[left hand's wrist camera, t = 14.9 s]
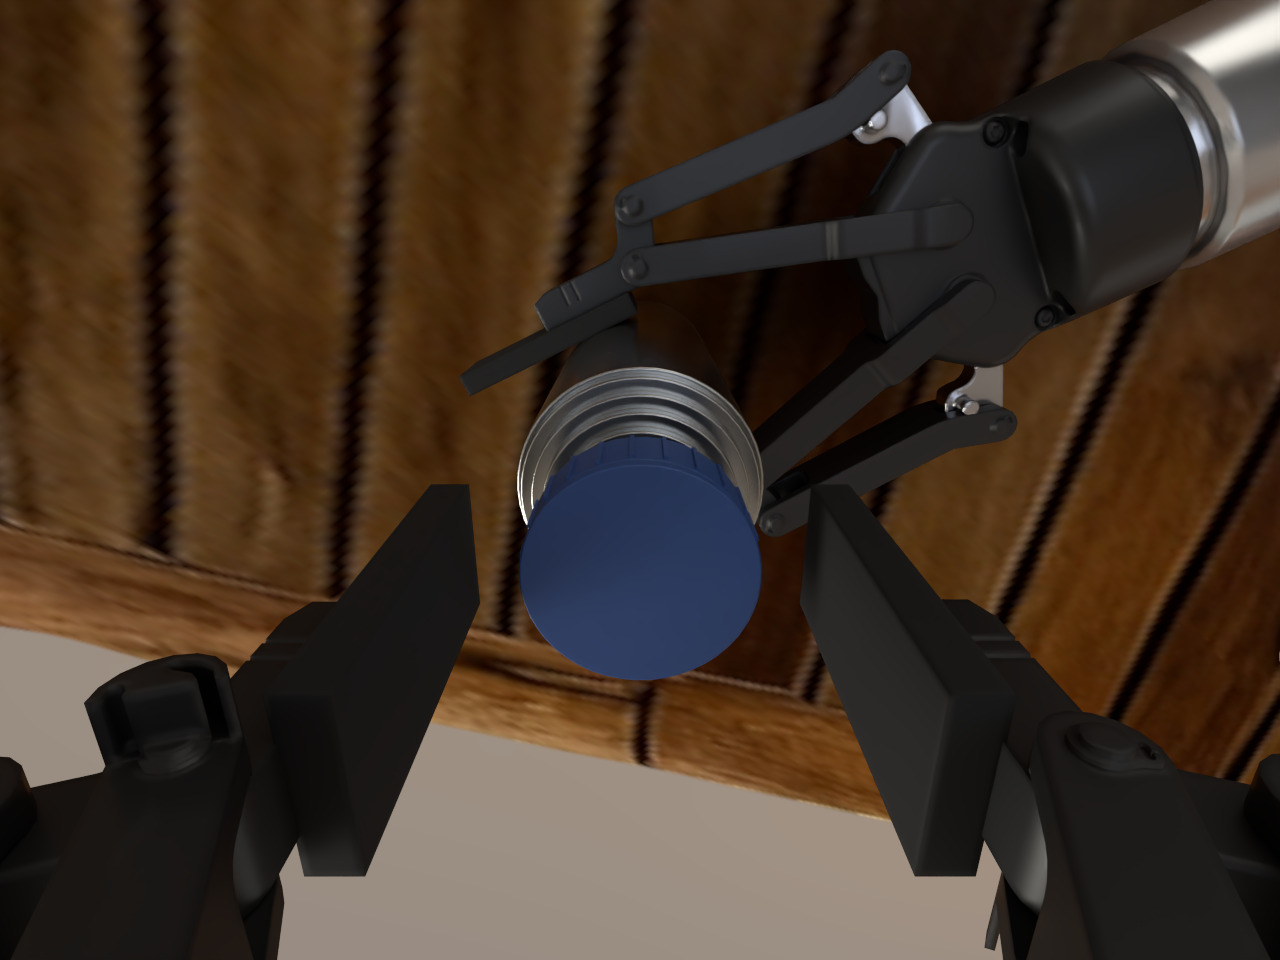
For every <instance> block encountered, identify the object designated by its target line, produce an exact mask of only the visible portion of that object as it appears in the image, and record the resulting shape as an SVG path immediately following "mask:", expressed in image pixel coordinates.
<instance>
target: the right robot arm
mask: <svg viewBox="0 0 1280 960" xmlns="http://www.w3.org/2000/svg"><path fill="white" fill-rule="evenodd" d="M910 76H911V64H910V61H909V59H908V57H907V56H906V55H905V54H904V53H903V52H900V51H897V50H891V51H887V52H885V53H883V54H882V55H880V56H879V57H877V58H876V59H874V60H873V61H872V62H870V63H869V64H867V65H866V66H864V67H863V68H862V69H860V70H859V71H857V72H856V73H855V74H854V75H853V76H852V77H851V78H849V79H848V80H847V81H846V82H845V83H844V84H843V85H842V86H841V87H840V88H839V89H838V90H836V91H835V92H834V93H833V94H832V95H831V96H830V97H829V98H828V99H827V100H826V101H824V102H823V103H820V104H818V105H816V106H813V107H811V108H809V109H806V110H804V111H802V112H799V113H797V114H795V115H792V116H790V117H788V118H785V119H783V120H781V121H778V122H776V123H774V124H771V125H769V126H767V127H764V128H762V129H760V130H757V131H755V132H753V133H750V134H748V135H746V136H743V137H741V138H739V139H736V140H734V141H732V142H729V143H727V144H725V145H722V146H720V147H718V148H715V149H713V150H711V151H708V152H706V153H704V154H701V155H699V156H697V157H694V158H692V159H690V160H687V161H685V162H683V163H680V164H678V165H676V166H673V167H671V168H669V169H666V170H664V171H662V172H659V173H657V174H655V175H652V176H650V177H648V178H645V179H643V180H641V181H638V182H636V183H634V184H631V185H629V186H627V187H625V188H623V189H622V190H620V191H619V193H618V194H617V196H616V197H615V202H614V210H615V219H616V228H617V237H618V244H617V248H616V251H615V253H614V255H613V256H612V257H611V258H610V259H609V260H607V261H606V262H604V263H602V264H600V265H598V266H596V267H594V268H592V269H590V270H588V271H586V272H584V273H582V274H580V275H578V276H576V277H574V278H572V279H570V280H568V281H566V282H564V283H563V284H561V285H559V286H557V287H555V288H553V289H551V290H549V291H547V292H546V293H545V294H544V295H543V296H542V297H541V298H540V299H539V300H538V302H537V303H536V304H535V305H534V308H535V310H536V312H537V313H538V315H539V317H540V319H541V321H542V323H543V325H544V327H545V328H544V329H542V330H540V331H538V332H536V333H534V334H532V335H530V336H528V337H526V338H524V339H522V340H520V341H518V342H516V343H514V344H512V345H510V346H508V347H506V348H504V349H502V350H500V351H498V352H496V353H494V354H492V355H490V356H488V357H486V358H484V359H482V360H480V361H478V362H476V363H475V364H474V365H473V366H471V367H470V368H469V369H468V370H467V371H466V372H464V373H463V374H462V375H461V376H460V377H459V378H460V380H461V382H462V383H463V385H464V387H465V388H466V390H467V392H468V394H469V395H470V396H472V395H474V394H476V393H478V392H480V391H482V390H484V389H486V388H488V387H490V386H492V385H494V384H496V383H498V382H500V381H502V380H504V379H506V378H508V377H510V376H512V375H514V374H516V373H518V372H520V371H522V370H524V369H526V368H528V367H530V366H532V365H534V364H536V363H538V362H541V361H543V360H545V359H547V358H549V357H551V356H553V355H555V354H557V353H559V352H561V351H563V350H565V349H567V348H569V347H571V346H573V345H575V344H577V343H579V342H581V341H583V340H585V339H587V338H589V337H591V336H593V335H595V334H597V333H599V332H601V331H603V330H605V329H607V328H610V327H612V326H614V325H616V324H618V323H620V322H622V321H624V320H626V319H628V318H630V317H632V316H634V315H636V314H637V308H638V305H637V303H636V300H635V298H634V296H633V294H632V292H631V291H632V290H634V289H636V288H638V287H641V286H648V285H656V284H663V283H670V282H677V281H684V280H691V279H698V278H705V277H712V276H720V275H727V274H734V273H741V272H748V271H755V270H762V269H769V268H776V267H784V266H791V265H798V264H805V263H812V262H819V261H827V260H843V263H844V266H845V269H846V271H847V274H848V275H849V277H850V278H851V279H852V281H853V282H854V284H855V285H856V286H857V288H858V289H859V291H860V296H861V309H862V316H863V318H864V321H865V324H866V328H865V329H864V330H863V331H862V332H861V333H859V334H858V335H857V336H856V337H855V338H854V339H853V340H852V341H851V342H850V343H849V344H848V346H847V348H846V350H845V352H844V353H843V354H842V355H841V356H839V357H838V358H837V359H836V360H835V361H834V362H833V363H831V364H830V365H829V366H828V367H827V368H826V369H825V370H823V371H822V372H821V373H820V374H819V375H818V376H817V377H815V378H814V379H813V380H812V381H811V382H810V383H809V384H807V385H806V386H805V387H804V388H803V389H802V390H801V391H799V392H798V393H797V394H796V395H795V396H794V397H793V398H791V399H790V400H789V401H788V402H787V403H786V404H785V405H783V406H782V407H781V408H780V409H779V410H778V411H777V412H775V413H774V414H773V415H772V416H771V417H770V418H769V419H767V420H766V421H765V422H764V423H763V424H762V425H760V426H759V427H758V428H757V429H756V430H755V431H754V432H752V434H753V436H754V438H755V440H756V442H757V445H758V448H759V452H760V455H761V459H762V466H763V473H764V490H763V497H762V504H761V507H760V511H759V515H758V518H757V520H756V523H757V524H758V525H760V528H761V530H762V531H763V532H764V533H765V534H766V535H768V536H770V537H778V536H781V535H784V534H786V533H788V532H790V531H792V530H794V529H796V528H798V527H800V526H802V525H804V524H806V523H808V513H809V502H810V491H811V484H849V485H850V486H851V488H852V489H853V490H854V491H855V493H856V494H857V495H858V496H861V495H863V494H865V493H867V492H869V491H871V490H873V489H875V488H877V487H879V486H881V485H883V484H885V483H887V482H889V481H891V480H893V479H895V478H897V477H899V476H901V475H903V474H905V473H907V472H909V471H911V470H913V469H915V468H917V467H919V466H921V465H922V464H924V463H926V462H928V461H930V460H932V459H934V458H936V457H938V456H940V455H942V454H944V453H946V452H948V451H950V450H952V449H956V448H962V447H968V446H974V445H980V444H986V443H992V442H999V441H1002V440H1005V439H1007V438H1009V437H1010V436H1011V435H1012V434H1013V433H1014V431H1015V430H1016V426H1017V419H1016V416H1015V415H1014V413H1013V412H1011V411H1009V410H1007V409H1005V408H1003V364H1004V363H1006V362H1008V361H1009V360H1011V359H1012V358H1013V357H1014V356H1015V355H1016V354H1017V353H1018V352H1019V351H1020V350H1021V349H1022V347H1023V346H1024V345H1025V344H1026V343H1027V342H1029V341H1030V340H1031V339H1032V338H1033V337H1035V336H1036V335H1038V334H1039V333H1041V332H1043V331H1046V330H1048V329H1051V328H1054V327H1056V326H1059V325H1062V324H1065V323H1067V322H1070V321H1072V320H1074V319H1077V318H1079V317H1081V316H1083V315H1086V314H1088V313H1090V312H1092V311H1095V310H1097V309H1099V308H1102V307H1104V306H1106V305H1108V304H1111V303H1113V302H1115V301H1117V300H1120V299H1122V298H1124V297H1126V296H1129V295H1131V294H1133V293H1135V292H1138V291H1140V290H1142V289H1144V288H1147V287H1149V286H1151V285H1153V284H1156V283H1158V282H1160V281H1162V280H1164V279H1166V278H1167V277H1169V276H1170V275H1171V274H1173V273H1174V272H1175V271H1176V270H1177V269H1185V268H1189V267H1194V266H1198V265H1200V264H1202V263H1204V262H1206V261H1209V260H1211V259H1213V258H1215V257H1217V256H1220V255H1222V254H1224V253H1226V252H1228V251H1230V250H1233V249H1235V248H1237V247H1239V246H1241V245H1244V244H1246V243H1248V242H1250V241H1252V240H1254V239H1257V238H1259V237H1261V236H1263V235H1265V234H1268V233H1270V232H1272V231H1274V230H1276V229H1278V228H1280V0H1211V1H1209V2H1207V3H1205V4H1203V5H1201V6H1199V7H1197V8H1195V9H1193V10H1191V11H1189V12H1186V13H1184V14H1182V15H1180V16H1178V17H1176V18H1174V19H1172V20H1170V21H1168V22H1166V23H1164V24H1162V25H1160V26H1158V27H1156V28H1154V29H1152V30H1150V31H1148V32H1146V33H1144V34H1142V35H1140V36H1138V37H1136V38H1134V39H1132V40H1130V41H1128V42H1126V43H1124V44H1122V45H1120V46H1119V47H1117V48H1115V49H1113V50H1112V51H1110V52H1108V54H1107V55H1106V56H1105V57H1104V58H1103V59H1102V60H1096V61H1091V62H1087V63H1084V64H1082V65H1080V66H1078V67H1076V68H1074V69H1072V70H1070V71H1068V72H1066V73H1064V74H1061V75H1059V76H1057V77H1055V78H1053V79H1051V80H1049V81H1047V82H1045V83H1043V84H1041V85H1039V86H1037V87H1035V88H1033V89H1031V90H1029V91H1027V92H1025V93H1023V94H1021V95H1019V96H1017V97H1015V98H1013V99H1011V100H1009V101H1007V102H1005V103H1003V104H1001V105H999V106H997V107H995V108H993V109H991V110H989V111H987V112H985V113H983V114H981V115H979V116H977V117H975V118H973V119H971V120H969V121H964V122H952V121H939V122H934V123H932V122H931V121H930V119H929V118H928V116H927V115H926V113H925V112H924V110H923V109H922V107H921V105H920V104H919V102H918V101H917V99H916V98H915V96H914V95H913V93H912V92H911V90H910V89H909V87H908V86H907V84H908V81H909V79H910ZM844 137H846V138H847V140H848V141H849V142H850V143H851V144H852V145H854V146H858V147H864V146H868V145H871V144H874V143H876V142H878V141H880V140H886V141H889V142H891V143H892V144H893V145H894V146H895V147H896V149H895V151H894V152H893V154H892V156H891V157H890V159H889V161H888V162H887V164H886V166H885V167H884V169H883V171H882V172H881V174H880V176H879V177H878V179H877V181H876V182H875V184H874V186H873V187H872V189H871V190H870V192H869V194H868V195H867V197H866V199H865V200H864V202H863V204H862V205H861V207H860V209H859V210H858V212H857V214H856V215H850V216H843V217H836V218H829V219H822V220H815V221H810V222H804V223H797V224H790V225H783V226H776V227H769V228H762V229H755V230H748V231H741V232H734V233H727V234H721V235H714V236H707V237H700V238H693V239H686V240H679V241H672V242H665V243H658V244H654V233H653V222H652V219H654V218H656V217H658V216H661V215H663V214H666V213H668V212H670V211H673V210H675V209H678V208H680V207H682V206H685V205H687V204H689V203H692V202H694V201H697V200H699V199H701V198H704V197H706V196H709V195H711V194H713V193H716V192H718V191H720V190H723V189H725V188H728V187H730V186H732V185H735V184H737V183H740V182H742V181H744V180H747V179H749V178H751V177H754V176H756V175H759V174H761V173H763V172H766V171H768V170H771V169H773V168H775V167H778V166H780V165H782V164H785V163H787V162H790V161H792V160H794V159H797V158H799V157H802V156H804V155H806V154H809V153H811V152H813V151H816V150H818V149H821V148H823V147H825V146H828V145H830V144H832V143H834V142H836V141H838V140H840V139H842V138H844ZM928 359H935V360H941V361H946V362H952V363H957V364H963V365H964V369H963V371H962V373H961V375H960V376H959V377H958V378H957V379H956V380H954V381H952V382H950V383H948V384H946V385H944V386H942V387H941V388H939V389H938V391H937V394H936V395H937V396H936V400H932V401H927V402H924V403H921V404H919V405H916V406H913V407H911V408H909V409H907V410H905V411H903V412H901V413H899V414H897V415H895V416H893V417H891V418H889V419H887V420H885V421H883V422H882V423H880V424H878V425H876V426H874V427H872V428H870V429H868V430H866V431H864V432H862V433H860V434H859V435H857V436H855V437H853V438H851V439H849V440H847V441H845V442H843V443H841V444H839V445H838V446H836V447H834V448H832V449H830V450H828V451H826V452H824V453H822V454H820V455H818V456H816V457H815V458H813V459H811V460H809V461H807V462H805V463H803V464H801V465H799V466H797V467H795V468H793V469H792V470H790V471H788V470H789V469H790V468H791V467H793V466H794V465H795V464H796V463H797V462H798V461H800V460H801V459H802V458H803V457H804V456H806V455H807V454H808V453H809V452H810V451H811V450H813V449H814V448H815V447H816V446H817V445H819V444H820V443H821V442H822V441H823V440H825V439H826V438H827V437H828V436H829V435H830V434H832V433H833V432H834V431H835V430H836V429H838V428H839V427H840V426H841V425H842V424H844V423H845V422H846V421H847V420H848V419H849V418H851V417H852V416H853V415H854V414H855V413H857V412H858V411H859V410H860V409H861V408H863V407H864V406H865V405H866V404H867V403H868V402H870V401H871V400H872V399H873V398H874V397H876V396H877V395H878V394H879V393H880V392H882V391H883V390H884V389H886V388H888V387H892V386H895V385H897V384H899V383H900V382H902V381H903V380H905V379H906V378H907V377H908V376H909V375H910V374H912V373H913V372H914V371H915V370H916V369H918V368H919V367H920V366H921V365H922V364H924V363H925V362H926V361H927V360H928ZM787 471H788V472H787ZM785 472H786V473H785Z"/></svg>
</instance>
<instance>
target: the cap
mask: <svg viewBox="0 0 1280 960" xmlns="http://www.w3.org/2000/svg"><path fill="white" fill-rule="evenodd" d="M526 527H527V528H529V529H528V531H527V534H526V537H525V540H524V542H523V545H522V548H521V551H520V555H519V556H520V567H519V577H520V588H521V592H522V596H523V600H524V603H525V606H526V608H527V611H528V613H529V615H530V617H531V619H532V621H533V622H534V624H535V626H536V627H537V629H538V630H539V631H540V633H541V634H542V635H543V637H544V638H545V639H546V640H547V641H548V642H549V643H550V644H551V645H552V646H553V647H554V648H555V649H556V650H557V651H559V652H560V653H561V654H562V655H564V656H565V657H566V658H568V659H570V660H571V661H573V662H575V663H576V664H578V665H580V666H582V667H584V668H586V669H589V670H591V671H593V672H596V673H599V674H602V675H606V676H610V677H615V678H620V679H630V680H652V679H660V678H667V677H671V676H675V675H679V674H682V673H685V672H688V671H690V670H693V669H695V668H697V667H699V666H701V665H703V664H705V663H707V662H708V661H710V660H712V659H713V658H715V657H716V656H718V655H719V654H720V653H721V652H723V651H724V650H725V649H726V648H727V647H728V646H730V645H731V643H732V642H733V641H734V640H735V639H736V638H737V637H738V636H739V635H740V633H741V632H742V630H743V629H744V627H745V626H746V625H747V623H748V621H749V619H750V617H751V615H752V613H753V612H754V609H755V606H756V604H757V601H758V598H759V593H760V588H761V582H762V563H761V554H760V550H759V546H758V542H757V541H759V537H758V534H757V531H756V529H755V526H754V523H753V521H752V518H751V516H750V513H749V512H748V510H747V507H746V505H745V502H744V499H743V497H742V494H741V491H740V489H739V487H738V486H737V487H735V486H734V485H733V483H732V482H731V480H730V479H729V478H728V477H727V475H726V474H725V473H724V472H723V470H722V467H721V465H720V464H719V463H718V464H717V465H716V464H715V463H714V462H712V461H711V460H710V459H708V458H707V457H705V456H704V455H703V454H701V453H699V452H697V450H696V448H695V447H693V446H692V448H690V447H687V446H685V445H682V444H680V443H677V442H674V441H669V440H666V437H662V439H661V438H652V437H634V435H630V437H628V438H621V439H615V440H612V441H608V442H604V443H603V441H600V442H599V444H598V445H596V446H594V447H592V448H589V449H587V450H586V451H584V452H582V453H580V454H579V455H577V456H575V455H573V456H571V459H570V461H569V462H568V463H566V464H565V465H564V466H563V467H562V468H561V469H560V470H559V471H558V472H557V473H556V474H555V475H554V476H553V475H551V476H550V477H549V480H548V483H547V486H546V488H545V490H544V492H543V494H542V495H541V497H540V500H537V499H536V501H535V504H534V507H533V509H532V512H531V515H530V517H529V520H528V523H527V525H526Z"/></svg>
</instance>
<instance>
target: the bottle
mask: <svg viewBox="0 0 1280 960" xmlns="http://www.w3.org/2000/svg"><path fill="white" fill-rule="evenodd" d="M636 303H637V305H638V308H637V314H636V315H634V316H632V317H630V318H628V319H626V320H624V321H622V322H620V323H618V324H616V325H614V326H612V327H610V328H607V329H605V330H603V331H601V332H599V333H597V334H595V335H593V336H591V337H589V338H587V339H585V340H583V341H581V342H579V343H577V344H575V346H574V348H573V350H572V352H571V354H570V356H569V358H568V360H567V361H566V363H565V365H564V367H563V369H562V371H561V373H560V375H559V376H558V378H557V380H556V382H555V384H554V386H553V388H552V390H551V391H550V393H549V395H548V397H547V399H546V401H545V403H544V405H543V407H542V408H541V410H540V412H539V414H538V416H537V418H536V420H535V422H534V423H533V425H532V427H531V429H530V431H529V433H528V436H527V438H526V440H525V442H524V445H523V448H522V452H521V455H520V459H519V465H518V472H517V490H518V498H519V504H520V508H521V511H522V515H523V518H524V521H525V523H526V525H527V523H528V520H529V517H530V515H531V512H532V509H533V507H534V504H535V501H536V499H537V500H540V497H541V495H542V494H543V492H544V490H545V488H546V486H547V483H548V480H549V477H550V476H551V475H553V476H554V475H555V474H556V473H557V472H558V471H559V470H560V469H561V468H562V467H563V466H564V465H565V464H566V463H568V462H569V461H570V459H571V456H573V455H575V456H577V455H579V454H580V453H582V452H584V451H586V450H587V449H589V448H592V447H594V446H596V445H598V444H599V442H600V441H603V443H604V442H608V441H612V440H615V439H621V438H628V437H630V435H634V437H652V438H661V439H662V437H666V440H669V441H674V442H677V443H680V444H682V445H685V446H687V447H690V448H692V446H693V447H695V448H696V450H697V452H699V453H701V454H703V455H704V456H705V457H707V458H708V459H710V460H711V461H712V462H714V463H715V464H716V465H717V464H718V463H719V464H720V465H721V467H722V470H723V472H724V473H725V474H726V475H727V477H728V478H729V479H730V480H731V482H732V483H733V485H734V486H735V487H737V486H738V487H739V489H740V491H741V494H742V497H743V499H744V502H745V505H746V507H747V510H748V512H749V513H750V516H751V518H752V521H753V523H754V525H755V523H756V520H757V518H758V515H759V511H760V507H761V504H762V497H763V490H764V473H763V466H762V459H761V455H760V452H759V448H758V445H757V442H756V440H755V438H754V436H753V434H752V431H751V429H750V427H749V425H748V424H747V422H746V420H745V418H744V416H743V414H742V412H741V410H740V409H739V407H738V405H737V403H736V401H735V399H734V397H733V396H732V394H731V392H730V390H729V388H728V386H727V384H726V383H725V381H724V379H723V377H722V375H721V373H720V371H719V370H718V368H717V366H716V364H715V362H714V360H713V358H712V356H711V355H710V353H709V351H708V349H707V347H706V345H705V343H704V342H703V340H702V338H701V336H700V334H699V333H698V331H697V329H696V328H695V327H694V325H693V324H692V323H691V322H690V321H689V320H688V319H687V318H686V317H685V316H684V315H683V314H681V313H680V312H679V311H677V310H676V309H674V308H672V307H670V306H668V305H666V304H663V303H660V302H656V301H651V300H636ZM528 529H529V528H528Z"/></svg>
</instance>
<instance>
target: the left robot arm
mask: <svg viewBox="0 0 1280 960" xmlns="http://www.w3.org/2000/svg"><path fill="white" fill-rule="evenodd" d="M479 605H480V599H479V588H478V577H477V567H476V556H475V545H474V534H473V524H472V513H471V502H470V491H469V484H431V485H430V486H429V488H428V489H427V490H426V491H425V493H424V494H423V495H422V496H421V498H420V499H419V500H418V501H417V503H416V504H415V505H414V506H413V508H412V509H411V510H410V511H409V513H408V514H407V515H406V516H405V518H404V519H403V520H402V521H401V523H400V524H399V525H398V526H397V528H396V529H395V530H394V531H393V533H392V534H391V535H390V536H389V538H388V539H387V540H386V541H385V543H384V544H383V545H382V546H381V548H380V549H379V550H378V551H377V553H376V554H375V555H374V556H373V558H372V559H371V560H370V561H369V563H368V564H367V565H366V566H365V568H364V569H363V570H362V571H361V573H360V574H359V575H358V576H357V578H356V579H355V580H354V581H353V583H352V584H351V585H350V586H349V588H348V589H347V590H346V591H345V593H344V594H343V595H342V596H341V598H340V599H339V600H338V601H337V602H311V603H310V604H308V605H306V606H305V607H303V608H301V609H300V610H298V611H297V612H295V613H293V614H292V615H290V616H288V617H287V618H285V619H284V620H283V621H282V622H281V623H280V624H279V625H278V626H277V627H276V629H275V630H274V631H273V632H272V633H271V634H270V635H269V636H268V637H267V639H266V643H262V644H261V645H260V646H259V647H258V649H257V650H256V651H255V652H254V653H253V654H252V655H251V659H250V661H246V662H245V663H244V664H243V665H242V666H241V667H240V669H239V670H238V671H237V672H236V673H235V674H234V675H233V676H232V677H231V679H230V676H229V672H228V668H227V664H226V663H224V662H223V661H221V660H220V659H219V658H217V657H216V656H211V655H205V654H199V653H195V654H183V655H173V656H169V657H165V658H161V659H157V660H153V661H149V662H146V663H144V664H141V665H139V666H137V667H134V668H132V669H130V670H127V671H125V672H123V673H120V674H119V675H117V676H116V677H114V678H112V679H111V680H109V681H108V682H106V683H105V684H103V685H102V686H100V687H99V688H97V690H96V691H95V692H94V693H93V694H92V695H91V696H90V697H89V698H88V699H87V700H86V701H85V703H84V705H85V707H86V710H87V713H88V716H89V719H90V722H91V725H92V728H93V731H94V734H95V737H96V740H97V742H98V745H99V748H100V751H101V754H102V757H103V760H104V763H105V768H104V770H103V772H101V773H97V774H93V775H88V776H84V777H80V778H74V779H70V780H65V781H60V782H56V783H52V784H46V785H42V786H37V787H33V788H30V786H29V783H28V781H27V778H26V776H25V773H24V771H23V768H22V766H21V765H20V764H19V763H17V762H16V761H14V760H13V759H11V758H10V757H0V960H277V956H278V948H279V940H280V933H281V925H282V917H283V909H284V897H283V889H282V885H281V881H280V877H279V873H280V871H281V869H282V867H283V866H284V864H285V862H286V860H287V858H288V857H289V855H290V853H291V851H292V849H293V848H294V846H295V844H296V843H297V847H298V851H299V856H300V860H301V864H302V869H303V873H304V876H365V875H366V873H367V871H368V868H369V866H370V864H371V861H372V859H373V856H374V854H375V852H376V849H377V847H378V844H379V842H380V840H381V837H382V835H383V833H384V830H385V828H386V826H387V823H388V821H389V818H390V816H391V814H392V811H393V809H394V806H395V804H396V802H397V799H398V797H399V795H400V792H401V790H402V787H403V785H404V783H405V780H406V778H407V776H408V773H409V771H410V768H411V766H412V764H413V761H414V759H415V757H416V754H417V752H418V749H419V747H420V745H421V742H422V740H423V738H424V735H425V733H426V731H427V728H428V726H429V723H430V721H431V719H432V716H433V714H434V711H435V709H436V707H437V704H438V702H439V700H440V697H441V695H442V692H443V690H444V688H445V685H446V683H447V681H448V678H449V676H450V673H451V671H452V669H453V666H454V664H455V662H456V659H457V657H458V654H459V652H460V650H461V647H462V645H463V643H464V640H465V638H466V635H467V633H468V631H469V628H470V626H471V624H472V621H473V619H474V616H475V614H476V612H477V609H478V607H479ZM800 605H801V607H802V609H803V612H804V614H805V616H806V619H807V621H808V624H809V626H810V628H811V631H812V633H813V635H814V638H815V640H816V643H817V645H818V647H819V650H820V652H821V654H822V657H823V659H824V662H825V664H826V666H827V669H828V671H829V673H830V676H831V678H832V681H833V683H834V685H835V688H836V690H837V692H838V695H839V697H840V700H841V702H842V704H843V707H844V709H845V711H846V714H847V716H848V719H849V721H850V723H851V726H852V728H853V731H854V733H855V735H856V738H857V740H858V742H859V745H860V747H861V750H862V752H863V754H864V757H865V759H866V761H867V764H868V766H869V769H870V771H871V773H872V776H873V778H874V780H875V783H876V785H877V788H878V790H879V792H880V795H881V797H882V799H883V802H884V804H885V807H886V809H887V811H888V814H889V816H890V818H891V821H892V823H893V826H894V828H895V830H896V833H897V835H898V837H899V840H900V842H901V844H902V847H903V849H904V852H905V854H906V856H907V859H908V861H909V863H910V866H911V868H912V871H913V873H914V875H915V876H976V873H977V869H978V864H979V860H980V856H981V851H982V847H983V843H984V840H985V842H986V844H987V846H988V848H989V849H990V851H991V853H992V855H993V857H994V858H995V860H996V862H997V864H998V866H999V867H1000V869H1001V871H1002V873H1001V877H1000V881H999V885H998V889H997V893H996V897H995V901H994V905H993V909H992V913H991V917H990V921H989V925H988V929H987V934H986V941H985V948H988V949H991V950H995V947H996V943H997V939H998V936H999V934H1000V939H1001V946H1002V954H1003V960H1280V754H1271V755H1270V756H1268V757H1267V758H1265V759H1264V760H1262V761H1261V762H1260V763H1259V766H1258V768H1257V771H1256V773H1255V776H1254V778H1253V781H1252V783H1251V785H1249V784H1244V783H1239V782H1235V781H1230V780H1225V779H1221V778H1216V777H1211V776H1207V775H1202V774H1197V773H1192V772H1188V771H1184V770H1180V769H1176V767H1175V765H1174V763H1173V762H1172V761H1171V760H1170V758H1169V757H1168V756H1167V754H1166V753H1165V752H1164V751H1163V749H1162V748H1161V747H1159V746H1158V745H1157V744H1155V743H1154V742H1153V741H1151V740H1150V739H1149V738H1147V737H1146V736H1145V735H1143V734H1142V733H1141V732H1139V731H1136V730H1134V729H1132V728H1130V727H1128V726H1126V725H1124V724H1122V723H1120V722H1118V721H1116V720H1113V719H1109V718H1106V717H1103V716H1099V715H1096V714H1092V713H1086V712H1082V711H1081V710H1080V708H1079V707H1078V706H1077V705H1076V704H1075V703H1074V702H1073V701H1072V700H1071V698H1070V697H1069V696H1068V695H1067V694H1066V693H1065V692H1064V691H1063V690H1062V689H1061V687H1060V686H1059V685H1058V684H1057V683H1056V682H1055V681H1054V680H1053V679H1052V678H1051V676H1050V675H1049V674H1048V673H1047V672H1046V671H1045V670H1044V669H1043V668H1042V666H1041V665H1040V664H1039V663H1038V662H1037V661H1036V660H1035V659H1034V658H1030V653H1029V652H1028V651H1027V650H1026V649H1025V648H1024V647H1023V646H1022V644H1021V643H1020V642H1019V641H1015V637H1014V636H1013V634H1012V633H1011V632H1010V631H1009V630H1008V629H1007V628H1006V627H1005V626H1004V625H1003V623H1002V622H1001V621H1000V620H999V619H998V618H997V617H996V616H994V615H993V614H991V613H989V612H988V611H986V610H984V609H983V608H981V607H979V606H978V605H976V604H975V603H973V602H971V601H970V600H941V599H940V598H939V596H938V595H937V594H936V593H935V591H934V590H933V589H932V588H931V586H930V585H929V584H928V583H927V581H926V580H925V579H924V578H923V576H922V575H921V574H920V573H919V571H918V570H917V569H916V568H915V566H914V565H913V564H912V563H911V561H910V560H909V559H908V558H907V556H906V555H905V554H904V553H903V551H902V550H901V549H900V548H899V546H898V545H897V544H896V543H895V541H894V540H893V539H892V538H891V536H890V535H889V534H888V533H887V531H886V530H885V529H884V528H883V526H882V525H881V524H880V523H879V521H878V520H877V519H876V518H875V516H874V515H873V514H872V513H871V511H870V510H869V509H868V508H867V506H866V505H865V504H864V503H863V501H862V500H861V499H860V498H859V496H858V495H857V494H856V493H855V491H854V490H853V489H852V488H851V486H850V485H849V484H811V491H810V502H809V513H808V524H807V534H806V545H805V556H804V567H803V577H802V588H801V599H800Z"/></svg>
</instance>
